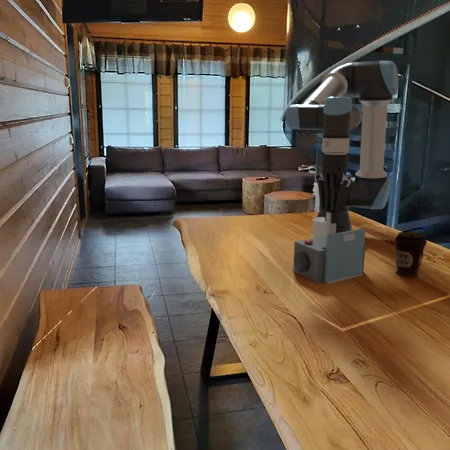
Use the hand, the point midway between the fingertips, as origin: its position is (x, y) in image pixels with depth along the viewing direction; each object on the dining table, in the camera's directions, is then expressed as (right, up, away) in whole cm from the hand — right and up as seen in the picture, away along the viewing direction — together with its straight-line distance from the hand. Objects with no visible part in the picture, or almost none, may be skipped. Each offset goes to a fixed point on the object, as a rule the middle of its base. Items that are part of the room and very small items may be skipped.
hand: (330, 233), depth 137 cm
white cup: (+4, -5, +30) cm, 31 cm away
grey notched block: (0, -12, +3) cm, 13 cm away
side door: (+4, -13, -3) cm, 14 cm away
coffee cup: (+23, -13, +1) cm, 26 cm away
